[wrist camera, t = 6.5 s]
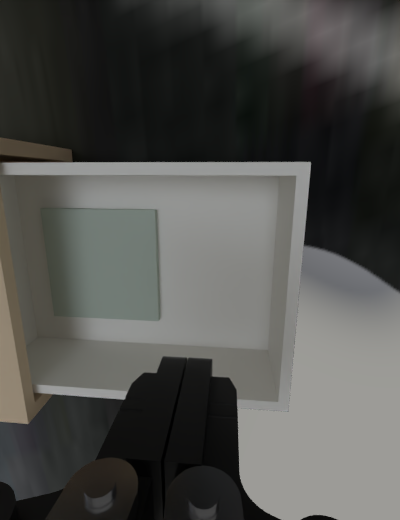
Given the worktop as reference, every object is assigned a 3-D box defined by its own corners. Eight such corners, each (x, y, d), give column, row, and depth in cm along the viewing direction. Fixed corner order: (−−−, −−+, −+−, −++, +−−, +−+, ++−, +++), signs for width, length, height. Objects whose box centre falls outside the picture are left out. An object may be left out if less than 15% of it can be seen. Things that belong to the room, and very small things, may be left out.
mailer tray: (10, 166, 22) (-71, 162, 16) (288, 166, 20) (311, 161, 14) (36, 339, 25) (-23, 388, 20) (274, 353, 24) (288, 411, 18)
